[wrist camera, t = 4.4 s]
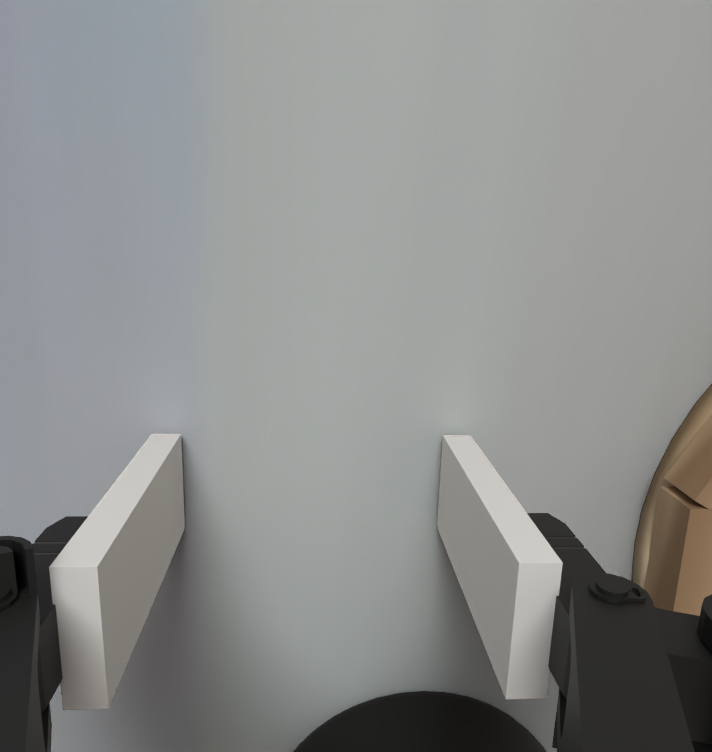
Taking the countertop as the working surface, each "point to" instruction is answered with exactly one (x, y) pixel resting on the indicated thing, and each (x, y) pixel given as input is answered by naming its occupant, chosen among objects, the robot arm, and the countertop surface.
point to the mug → (421, 727)
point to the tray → (679, 519)
